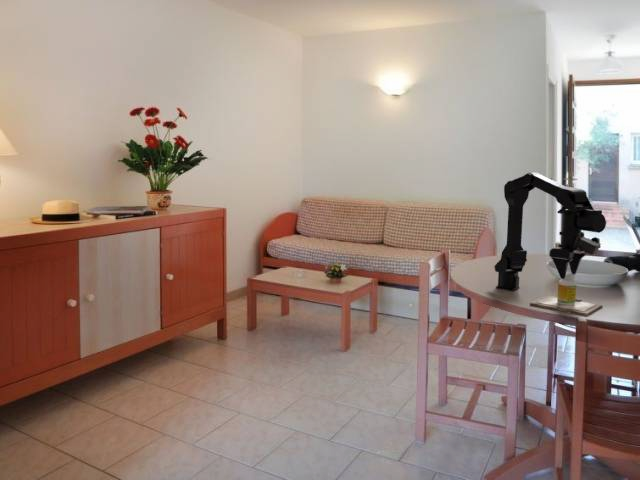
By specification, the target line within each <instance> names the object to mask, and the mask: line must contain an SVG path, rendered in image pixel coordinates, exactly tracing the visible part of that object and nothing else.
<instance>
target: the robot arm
mask: <svg viewBox="0 0 640 480" xmlns="http://www.w3.org/2000/svg"><path fill="white" fill-rule="evenodd" d="M535 188H537V190H538V189H539V190H540V191H542V192H544V193H547V194H548V195H550V196H552V197H553V198H555V201H556V202H557V203H558V204H559V205H561V206H562V207H561V208H560V209H559V210H557V214H561V215H562V221H561V226H562V227H561V231H559V232H558V234H559V236H561V238H560V243H559V244H558V246H556V247H552V248H551V249H550V250H549V252H548V256H549V257H550V259H551V260H552V262H553V264H554V267H555V268H556V270H557V272H558V275H559V277H560V280H562V279H565V276H566V273H567V271H568V266H569V269H570V272H571V274H574V275H577V271H578V269H579V266H580V263H581V261H582V259H583V258H584V257H586V256H587V255H588V254H589V255H592V256H593V255H595V254H597V253H598V251H599V250H600V249H601V243H600V242H601V241H600V238H599V237H596V236H594V237H592V238H589V237H588V238H587V237H585V233H584V232H585V231H586V232H591V233H592V232H593V233H602V232H603V231H604V230H605V228H606V226H607V220H606V217H605V215H604V214H603V209H594V207H593V205H592V204H591V202H590V199H589V198H588V195H587V194H588V193H587V191H586V190H584V189H582V188H577V187H572V186H566V185H564V184H561V183H560V182H556V181H555V180H553V179H551V178H548V177H546V176H544V175H542V174H541V173H540V172H528V173H526V174H524V175H522V176H519V177H517V178H514V179H513V180H508V181H507V182H506V183H505V184H504V185H503V192H504V193H503V194H504V199H505V201H506V203H507V206H508V209H507V210H508V212H507V229H506V230H507V232H506V244H505V246H504V248H503V249H502V251H501V255H500V256H501V257H500V260H498V261H497V263H496V264H495V265H494V266H493V267H494V270H495V272H497V273H498V275H497V276H498V277H497V279H498V280H497V285H496V286H495V288H497V289H500V290H501V289H502V290H507V291H514V290H518V289H520V276H519V273H522V272H523V269H524V267H525V266H526V262H528V259H527V255H528V251H527V250H525V249H524V248H523V246H522V234H523V232H522V231H523V218H524V216H523V215H524V214H523V213H524V206H525V204H526V202H527V201H528V199H529V195H530V191H531V192H532V191H533V190H534V189H535Z"/></svg>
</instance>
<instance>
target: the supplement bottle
mask: <svg viewBox="0 0 640 480" xmlns="http://www.w3.org/2000/svg"><path fill="white" fill-rule="evenodd" d="M575 275H576V274H572V273H569V272H566V276H565V279H560V280H559V281H558V284H557V285H558V287H557V296H556V297H557V302H558V303H559V304H563V305H574V304H575V298H577V296H576V293H577V281H575V277H576V276H575Z"/></svg>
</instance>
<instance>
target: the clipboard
mask: <svg viewBox="0 0 640 480" xmlns="http://www.w3.org/2000/svg"><path fill="white" fill-rule="evenodd" d="M532 305H533V307H537V306H538V308H542V307H543V308H542V309H547V308H549V309H548V310H552V309H554V310H553V311H557V310H559V311H558V312H562V311H564V312H563V313H567V312H570V313H569V314H573V313H575V314H574V315H578V314H579V316H584V317H588V316H590V315H591V314H594V313H595V312H596V311H598V310H601V309H602V308H603V304H598V303H593V302H587V301H582V298H577V297H575V304H574V305H563V304H559V303H558V302H557V296H553V295H549V294H547V295H545V296H542V297H540V298H538V299H536V300H533V301H531V302H529V306H532Z"/></svg>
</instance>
